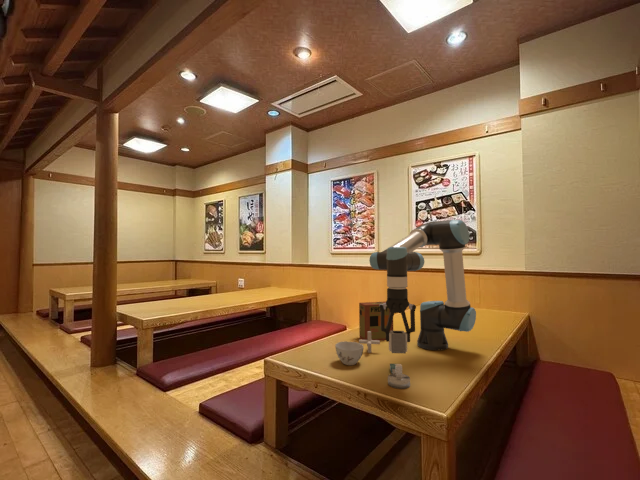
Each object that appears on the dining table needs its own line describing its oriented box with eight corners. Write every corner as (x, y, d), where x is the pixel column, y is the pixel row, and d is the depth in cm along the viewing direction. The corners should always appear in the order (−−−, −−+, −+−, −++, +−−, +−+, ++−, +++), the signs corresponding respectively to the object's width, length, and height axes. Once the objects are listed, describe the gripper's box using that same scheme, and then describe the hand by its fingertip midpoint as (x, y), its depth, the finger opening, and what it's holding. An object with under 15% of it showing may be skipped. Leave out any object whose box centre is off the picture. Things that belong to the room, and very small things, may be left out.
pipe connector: (379, 356, 150) (379, 334, 151) (358, 355, 152) (358, 333, 153) (380, 349, 160) (379, 329, 160) (360, 348, 162) (359, 328, 162)
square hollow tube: (405, 353, 116) (405, 334, 116) (391, 353, 117) (391, 333, 117) (403, 349, 121) (403, 330, 121) (390, 348, 122) (390, 330, 122)
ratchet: (403, 369, 133) (403, 352, 134) (411, 389, 114) (411, 369, 114) (384, 368, 134) (383, 351, 135) (389, 388, 115) (388, 368, 115)
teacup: (354, 370, 132) (354, 351, 133) (329, 364, 140) (329, 345, 140) (371, 360, 145) (371, 342, 145) (347, 355, 152) (347, 338, 152)
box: (365, 342, 174) (365, 305, 175) (359, 337, 183) (359, 302, 184) (393, 339, 178) (392, 303, 179) (386, 335, 187) (385, 301, 188)
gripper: (419, 286, 123) (420, 348, 122) (372, 286, 125) (372, 346, 124) (424, 289, 115) (425, 354, 114) (373, 288, 117) (374, 352, 116)
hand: (397, 350), depth 119 cm, fingers closed on square hollow tube, 5 cm apart
